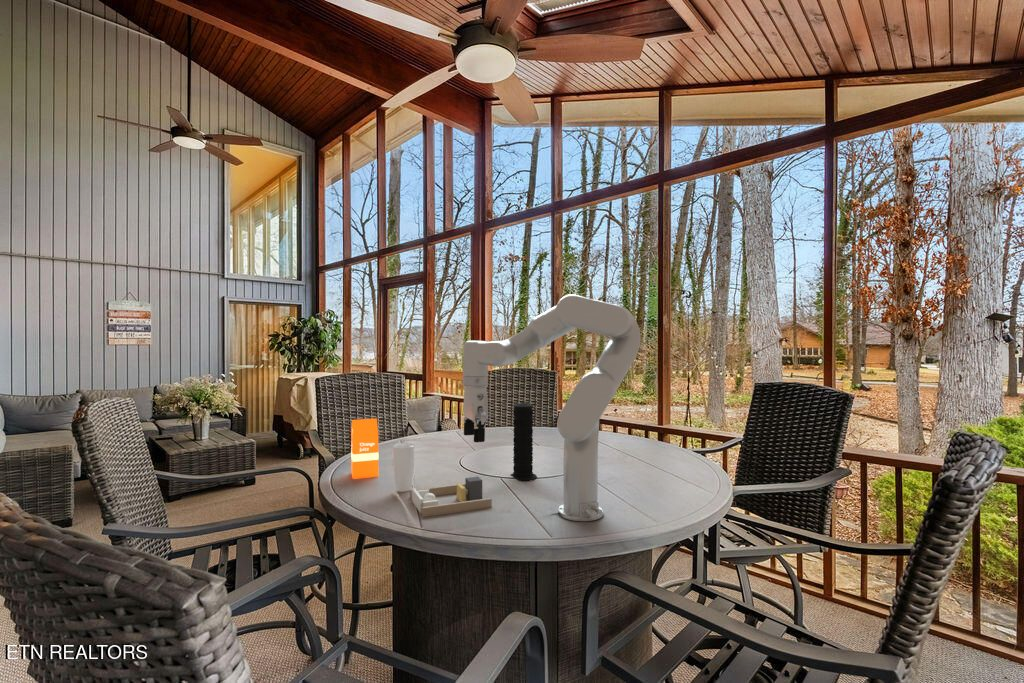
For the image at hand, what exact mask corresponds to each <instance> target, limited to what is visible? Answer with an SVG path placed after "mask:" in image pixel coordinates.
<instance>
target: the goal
mask: <svg viewBox="0 0 1024 683" xmlns="http://www.w3.org/2000/svg"><path fill="white" fill-rule="evenodd" d="M416 489H417V488H415V487H412V499H411V502H412V504H413V505H414V506H415V508H416V509H417V511H418V512H419V513H420V514H422V507H428V506H436V505H439V500H438V499H436V500H433V501H425V502H424V501H423V499H424V496H425V495H426V494H427V493H429V489H427V490H419V491H417V490H416Z"/></svg>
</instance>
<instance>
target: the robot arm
mask: <svg viewBox="0 0 1024 683" xmlns="http://www.w3.org/2000/svg"><path fill="white" fill-rule="evenodd" d="M576 329H579V330H582V331H587V332H590V333H594V334H597V335H602V336H605V337H609V338H608V342H607V344H606V346H605V348H604V349H603V351H602V352H601V354H600V356H599V358H598V360H597V361H596V363H595V364H594V365H593V368H592V369H591V370H590V371H589V372H587V373H586V374H584V375H583V376H582V377H581V378H580V380H578V382H577V384H576V386H575V388H574V389H573V391H572V393H571V394H570V395H569V397H568V399H567V400H566V402H565V404H564V406H563V408H562V409H561V411H560V413H559V415H558V418H557V422H556V423H557V424H556V425H557V431H558V433H559V434H560V436H561V438H563V439H564V441H563V504H561V505H559V506H558V508H557V511H558V515H559V516H560V517H562V518H563V519H566V520H569V521H575V522H591V521H596V520H599V519H601V518H602V517H603V516H604V510H603V508H602V507H600V506H599V501H598V496H599V495H598V491H599V489H598V479H599V478H598V473H599V472H598V470H599V469H598V468H599V467H598V466H599V464H598V462H599V461H598V460H599V436H600V434H599V433H600V419H601V417H602V416H603V414H604V413H605V411H606V409H607V408H608V406H609V404H610V403H611V401H612V400H613V399H614V397H615V396H616V394H617V391H618V389H619V387H620V385H621V384H622V382H623V380H624V378H625V377H626V375H627V373H628V371H629V370H630V368H631V367H632V365H633V363H634V361H635V359H636V357H637V355H638V352H639V350H640V346H641V337H642V335H641V331H640V330H641V329H640V327H639V324H638V322H637V320H636V318H635V317H634V315H633V314H632V313H631V311H630V310H628V309H627V308H625V307H624V306H621V305H618V304H614V303H609V302H606V301H601V300H598V299H592V298H588V297H585V296H582V295H578V294H574V293H571V294H566V295H564V296H562V298H561V297H560V299H559V300H558V302H557V304H556V305H554V306H553V307H551V308H549V309H547V310H545V311H544V312H542V313H540V314H539V315H536V316H534V317H533V318H532V319H531V320H530V322H529V323H528V325H527V326H526V327H525V328H523V329H522V330H521V331H520V332H517V333H515V334H514V335H512V336H511V337H509V338H507V339H503V340H495V341H494V340H493V341H485V340H467V341H465V342H464V343H463V347H462V348H463V353H462V358H463V359H462V387H463V388H464V393H463V436H473V442H474V443H484V442H485V441H486V439H485V438H486V423H487V422H486V421H488V419H489V401H488V400H489V399H488V389H487V388H488V386H489V385H488V384H489V367H496V368H497V367H504V366H509V365H512V364H514V363H516V362H518V361H519V360H520V361H521V360H522V359H523V358H525V357H527V356H529V355H531V354H532V353H535V352H537V350H540V349H542V348H544V347H546V346H547V345H548V344H550V343H552V342H554V341H555V340H558V339H560V338H562V337H563V336H565V335H567V334H569V333H570V332H572V331H574V330H576Z"/></svg>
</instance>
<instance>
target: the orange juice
mask: <svg viewBox="0 0 1024 683" xmlns="http://www.w3.org/2000/svg"><path fill="white" fill-rule="evenodd" d="M350 433H351V437H350V438H351V440H350V443H351V444H350V446H351V448H350V455H351V456H350V457H351V460H350V464H351V465H350V469H351V470H350V471H351V472H350V473H351V477H352V480H354V479H356V480H357V479H358V480H359V479H366V478H377V477H378V478H379V459H380V458H379V453H380V452H379V429H378V418H363V419H352V420H351V432H350Z"/></svg>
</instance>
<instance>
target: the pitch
mask: <svg viewBox="0 0 1024 683" xmlns="http://www.w3.org/2000/svg"><path fill="white" fill-rule="evenodd" d="M461 484H462V485H463V486H464V487H465V483H461ZM415 489H416V490H417V491H419V490H427V489H429V493H432V494H434V495H435V497H436V496H441V495H452V494H457V484H451V485H450V484H449V485H443V486H435V487H434V486H433V487H425V488H419V489H418V488H415ZM409 499H411V500H412V490H410V491H409ZM492 504H493V500H492V498H491V497H488V498H482V499H479V500H472V501H468V500H466V501H465V502H460V501H458V502H450V503H445V504H443V503H442V504H438V505H436V506H428V507H422V513H421V517H423V518H424V517H430V516H431V517H432V516H437V515H445V514H452V513H460V512H466V511H473V510H479V509H488V508H492V507H493V505H492Z"/></svg>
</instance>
